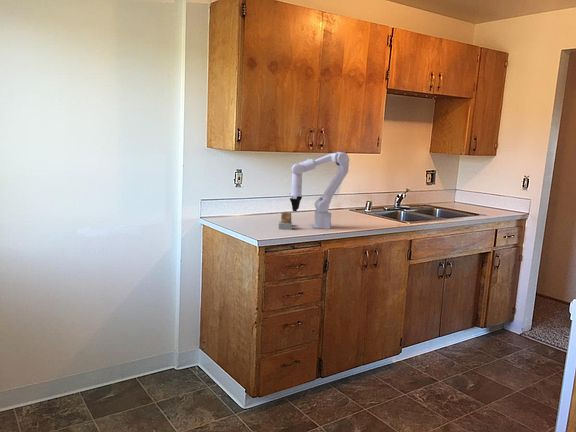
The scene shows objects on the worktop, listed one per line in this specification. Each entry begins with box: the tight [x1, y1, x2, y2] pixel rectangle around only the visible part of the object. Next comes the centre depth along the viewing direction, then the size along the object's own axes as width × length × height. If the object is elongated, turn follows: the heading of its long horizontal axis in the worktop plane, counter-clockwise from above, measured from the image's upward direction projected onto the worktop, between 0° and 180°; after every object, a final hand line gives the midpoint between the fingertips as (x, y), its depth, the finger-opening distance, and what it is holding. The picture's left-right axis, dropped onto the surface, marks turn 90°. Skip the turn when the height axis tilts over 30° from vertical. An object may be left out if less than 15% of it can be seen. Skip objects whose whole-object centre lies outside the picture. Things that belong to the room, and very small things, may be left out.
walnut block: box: [280, 211, 292, 223], centre depth 268 cm, size 4×4×6 cm
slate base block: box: [278, 221, 293, 231], centre depth 268 cm, size 7×7×4 cm
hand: (295, 210), depth 272 cm, fingers open, 7 cm apart
